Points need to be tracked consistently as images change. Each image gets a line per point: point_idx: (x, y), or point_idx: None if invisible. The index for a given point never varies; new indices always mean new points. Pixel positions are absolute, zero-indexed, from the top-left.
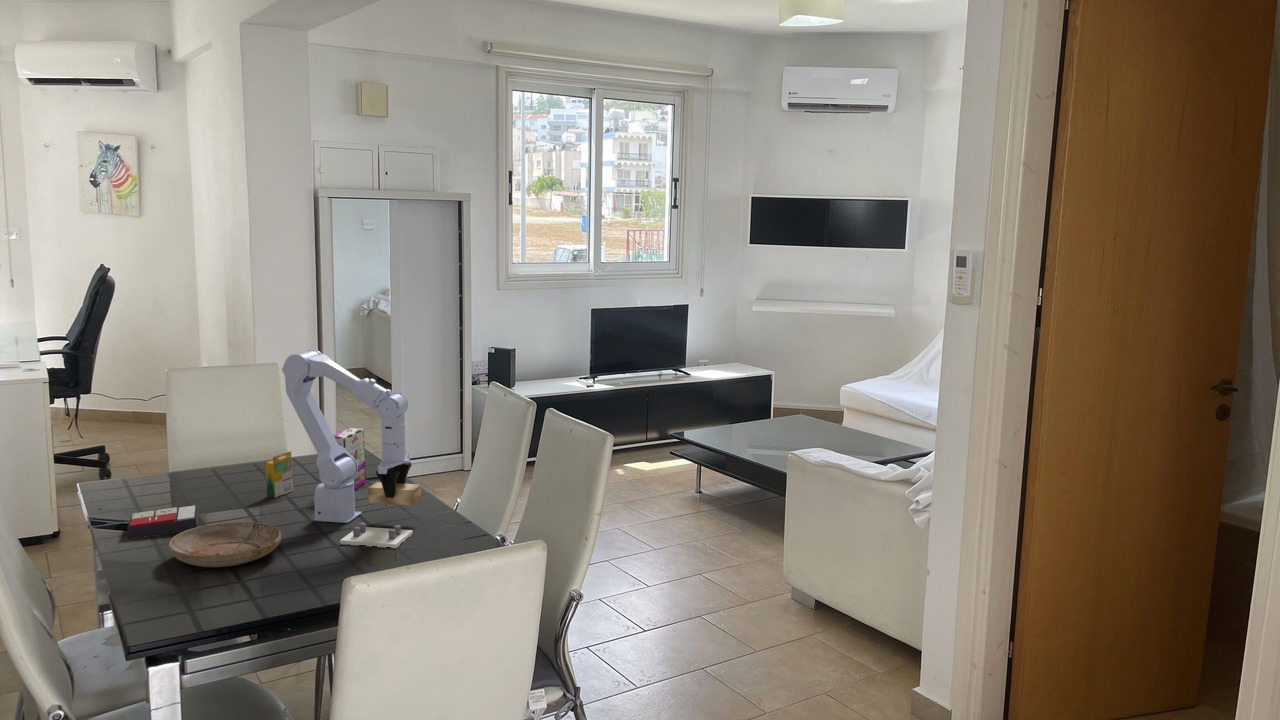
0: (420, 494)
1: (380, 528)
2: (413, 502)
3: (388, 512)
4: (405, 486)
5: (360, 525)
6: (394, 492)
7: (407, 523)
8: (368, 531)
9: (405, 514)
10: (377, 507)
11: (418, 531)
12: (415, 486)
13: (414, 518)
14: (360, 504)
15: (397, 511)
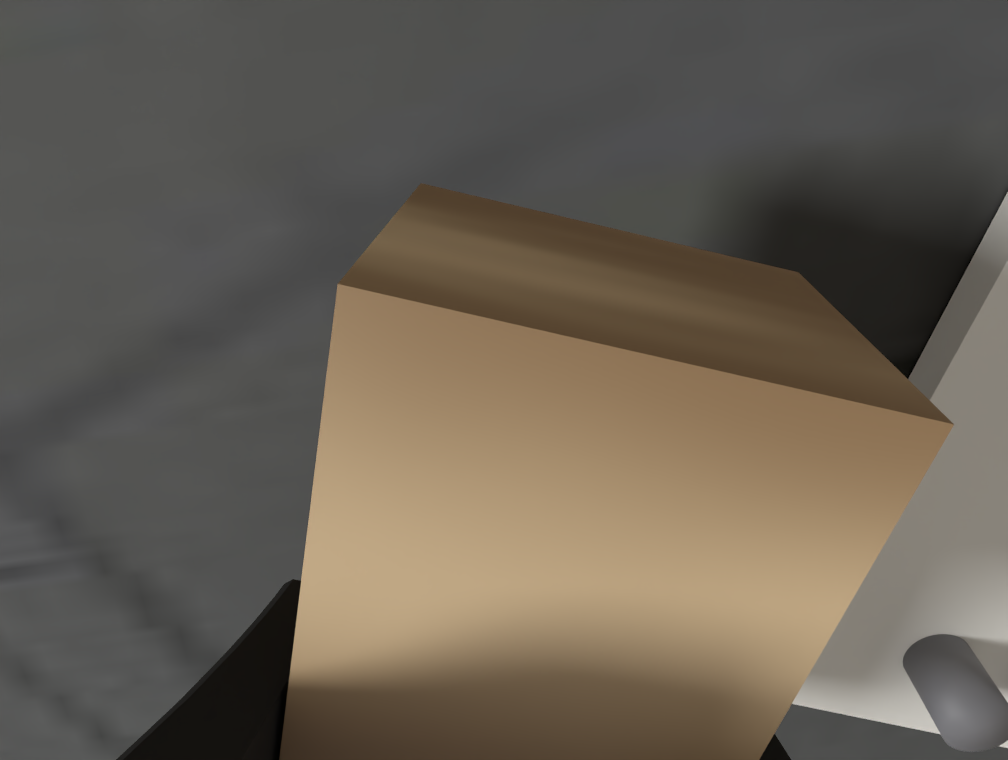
0: (447, 224)
1: None
2: (817, 297)
3: (222, 524)
4: (524, 644)
5: (1006, 731)
6: (771, 746)
7: None
8: (943, 614)
9: (260, 360)
10: (98, 626)
11: (925, 96)
12: (533, 421)
13: None
14: (56, 742)
15: (175, 452)
